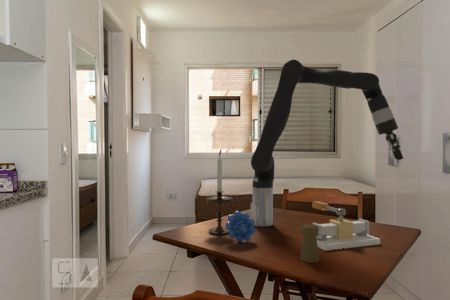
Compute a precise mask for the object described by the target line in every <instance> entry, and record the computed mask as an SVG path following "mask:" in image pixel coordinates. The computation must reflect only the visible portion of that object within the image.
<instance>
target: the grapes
mask: <svg viewBox="0 0 450 300" xmlns="http://www.w3.org/2000/svg"><path fill="white" fill-rule="evenodd" d="M227 221H228V222H226V223H225V228H227V229H228V230H230V231H229V234H228V235H229V237H230V238H231V239H236V242H238V243H242V242H244V241H246V242H250V241H251V240H252V236H254V235H256V228H254V225H255V222H254V220H253V219H251V218H250V214H249V213H248V212H243V213H242V212H241V211H239V210H235V211H234V214H229V215H228V216H227Z"/></svg>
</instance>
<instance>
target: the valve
mask: <svg viewBox="0 0 450 300" xmlns="http://www.w3.org/2000/svg"><path fill="white" fill-rule="evenodd" d="M328 221H329V223H328V222H327V223H316V222H312V223H311V225H314V226H316V227H317V228H318V234H317V236H316V238H317V246H318V249H320V250H322V251H324V252H325V251H326V252H327V251H333V250H334V249H335V250H342V249H343V248H344V249H350V248H359V247H368V246H377V245H381V238H379V237H375V236H373V235H370V221H369V220H366V219H363V218H358V220H352V221H350V220H348V219H344V215H338V218H337V219H335V218H334V219H329V220H328ZM335 250H334V251H335Z"/></svg>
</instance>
